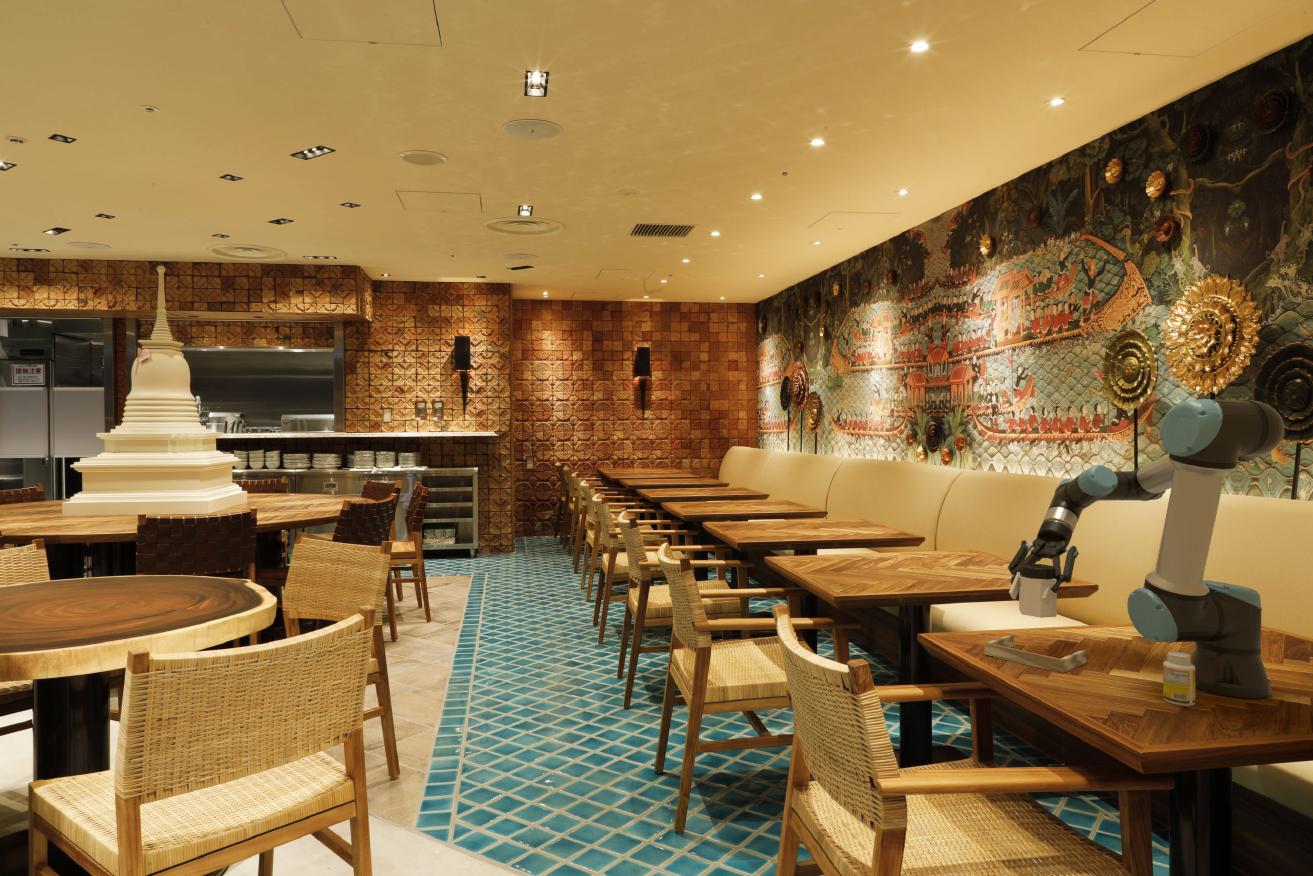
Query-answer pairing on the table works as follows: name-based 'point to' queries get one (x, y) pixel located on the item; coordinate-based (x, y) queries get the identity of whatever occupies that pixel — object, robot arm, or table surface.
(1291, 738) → the table surface
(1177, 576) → the robot arm
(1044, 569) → the jar
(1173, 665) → the supplement bottle
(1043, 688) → the table surface
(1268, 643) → the table surface
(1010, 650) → the corral
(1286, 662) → the table surface
